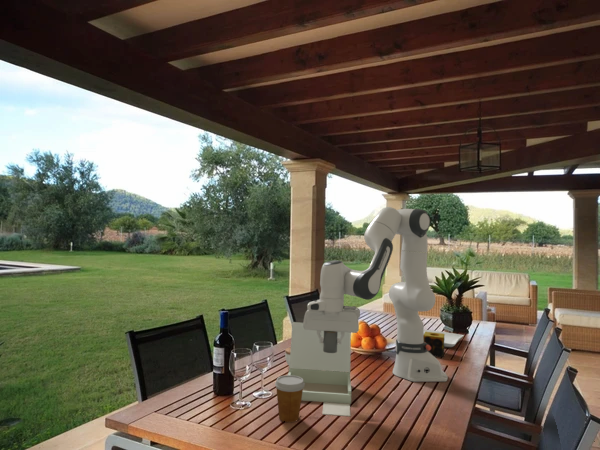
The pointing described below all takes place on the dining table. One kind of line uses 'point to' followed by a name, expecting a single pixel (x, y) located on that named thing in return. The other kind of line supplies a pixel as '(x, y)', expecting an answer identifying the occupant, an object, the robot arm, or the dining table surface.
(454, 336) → the square plate
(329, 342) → the nursery pot
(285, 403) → the disposable coffee cup
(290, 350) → the lidded jar
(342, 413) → the stone tile
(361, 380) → the dining table surface
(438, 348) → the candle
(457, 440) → the dining table surface
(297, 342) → the pale grey-green hollow box
